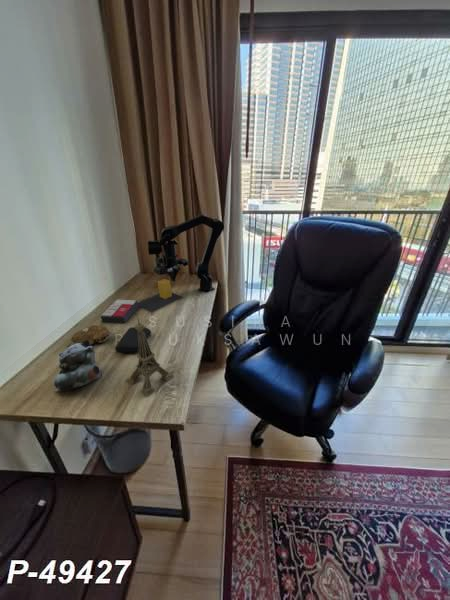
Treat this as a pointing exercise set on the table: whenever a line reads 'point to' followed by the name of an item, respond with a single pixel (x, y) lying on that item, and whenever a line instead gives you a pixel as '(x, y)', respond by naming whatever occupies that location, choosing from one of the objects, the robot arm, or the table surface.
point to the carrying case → (131, 340)
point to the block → (164, 288)
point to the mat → (157, 302)
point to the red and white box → (119, 311)
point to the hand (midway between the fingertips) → (173, 281)
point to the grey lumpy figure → (76, 367)
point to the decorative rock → (91, 334)
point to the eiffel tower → (146, 363)
